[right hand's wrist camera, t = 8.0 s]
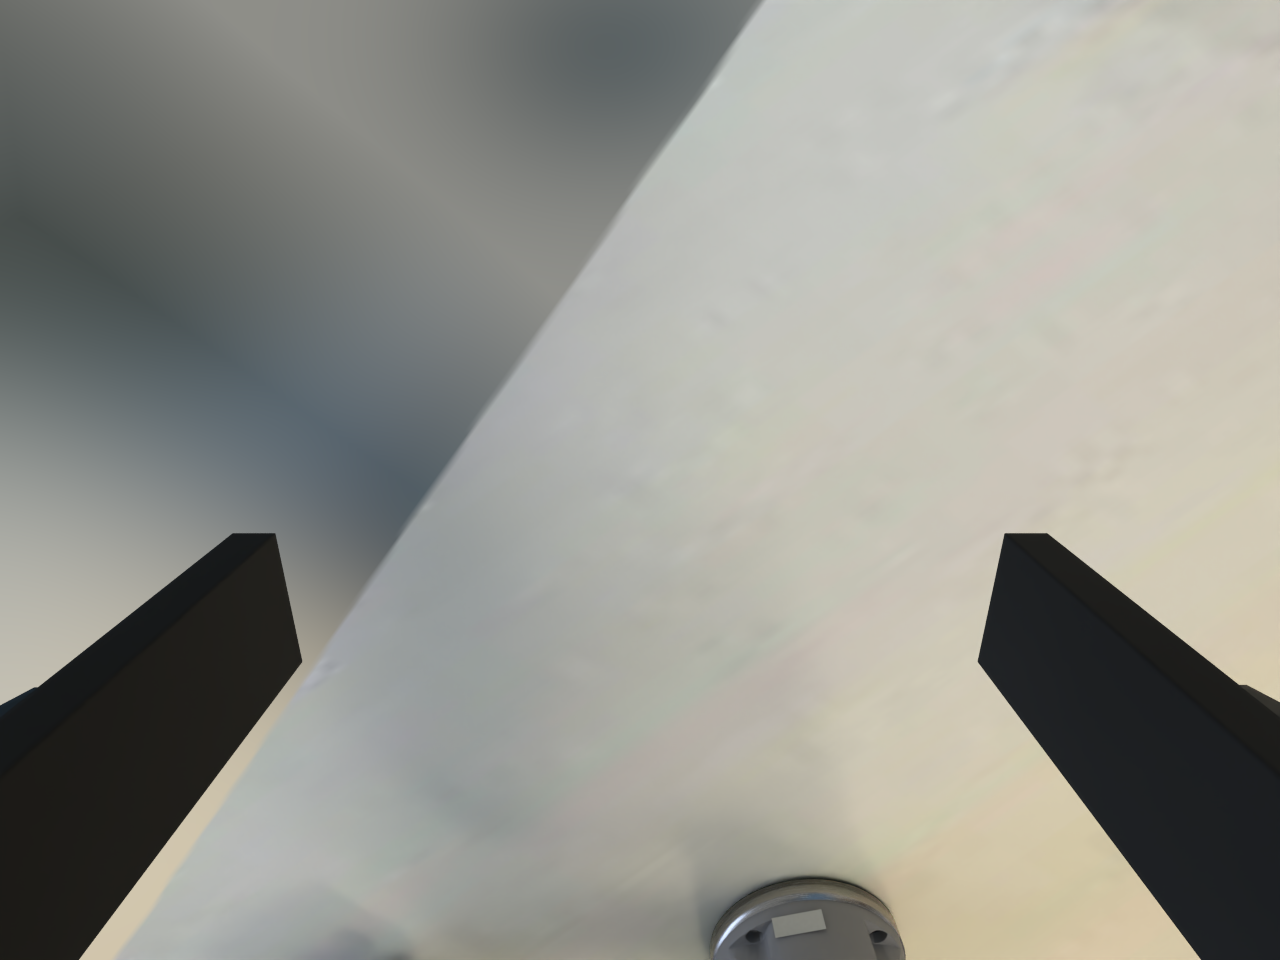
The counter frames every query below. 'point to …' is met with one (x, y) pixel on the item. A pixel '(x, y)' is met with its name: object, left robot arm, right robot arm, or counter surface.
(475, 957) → the counter surface
